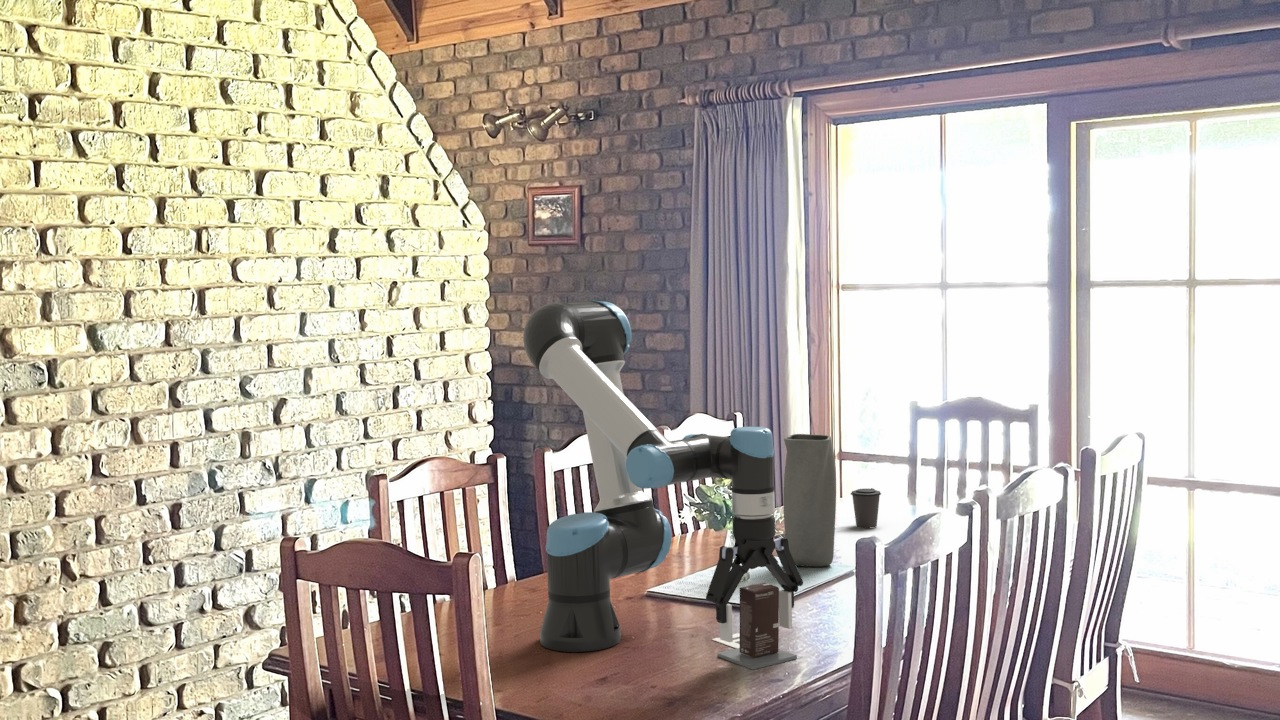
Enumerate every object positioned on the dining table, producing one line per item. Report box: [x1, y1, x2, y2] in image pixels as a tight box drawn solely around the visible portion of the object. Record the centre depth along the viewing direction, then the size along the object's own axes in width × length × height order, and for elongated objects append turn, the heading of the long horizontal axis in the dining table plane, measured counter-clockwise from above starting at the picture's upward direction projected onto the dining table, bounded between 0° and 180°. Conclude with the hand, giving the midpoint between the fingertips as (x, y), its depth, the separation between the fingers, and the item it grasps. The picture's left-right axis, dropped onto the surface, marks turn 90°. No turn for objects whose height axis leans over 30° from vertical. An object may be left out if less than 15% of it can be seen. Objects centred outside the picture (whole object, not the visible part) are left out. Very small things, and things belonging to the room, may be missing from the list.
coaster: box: [716, 648, 798, 670], centre depth 229 cm, size 10×10×1 cm
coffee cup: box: [850, 487, 882, 529], centre depth 343 cm, size 8×8×10 cm
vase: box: [782, 433, 837, 568], centre depth 300 cm, size 12×12×30 cm
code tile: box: [711, 632, 740, 649], centre depth 239 cm, size 7×8×1 cm
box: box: [739, 582, 780, 658], centre depth 229 cm, size 6×4×12 cm
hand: (756, 633), depth 229 cm, fingers open, 13 cm apart
